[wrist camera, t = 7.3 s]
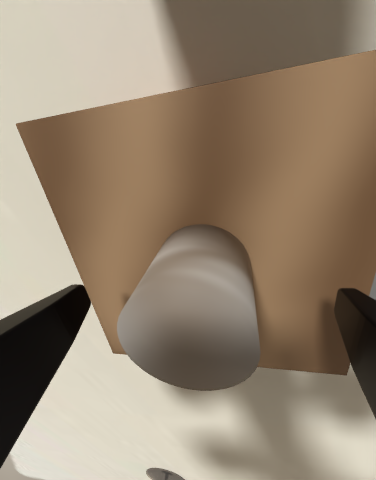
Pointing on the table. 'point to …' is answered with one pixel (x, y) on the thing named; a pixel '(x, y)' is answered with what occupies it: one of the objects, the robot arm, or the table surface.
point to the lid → (221, 218)
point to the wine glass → (162, 474)
